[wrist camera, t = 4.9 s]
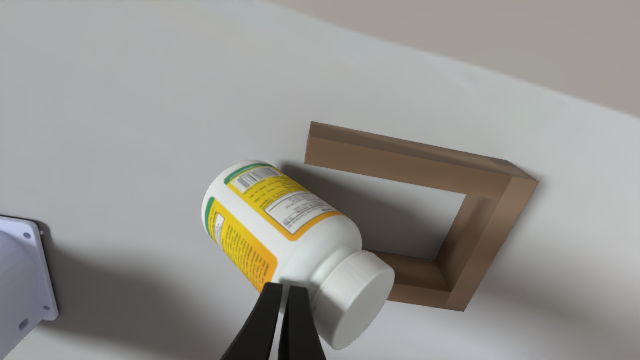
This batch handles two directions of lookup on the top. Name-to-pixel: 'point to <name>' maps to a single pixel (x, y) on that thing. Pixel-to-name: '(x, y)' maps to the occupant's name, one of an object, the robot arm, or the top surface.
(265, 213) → the supplement bottle
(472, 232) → the u rest
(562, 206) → the top surface
